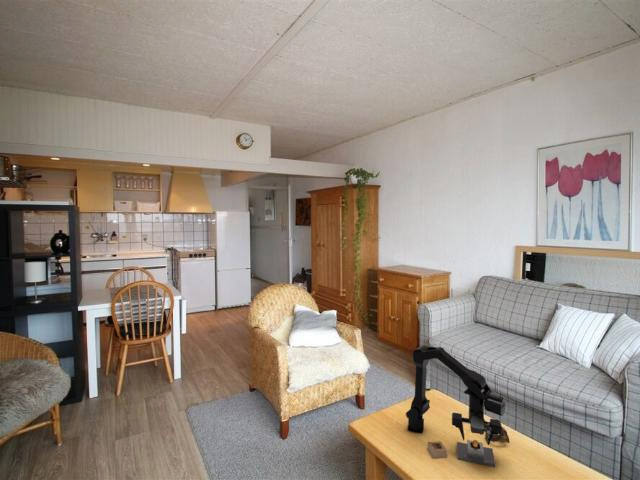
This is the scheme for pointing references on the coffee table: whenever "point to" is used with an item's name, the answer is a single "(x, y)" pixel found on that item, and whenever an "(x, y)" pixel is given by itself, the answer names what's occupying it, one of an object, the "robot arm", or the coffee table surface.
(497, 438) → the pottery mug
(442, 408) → the coffee table surface
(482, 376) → the robot arm
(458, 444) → the keeper
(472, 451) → the grey square frame
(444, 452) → the brown hollow square block
